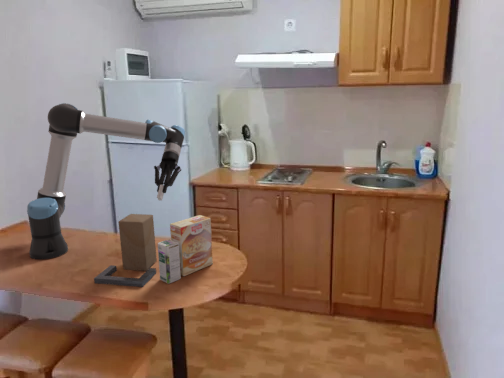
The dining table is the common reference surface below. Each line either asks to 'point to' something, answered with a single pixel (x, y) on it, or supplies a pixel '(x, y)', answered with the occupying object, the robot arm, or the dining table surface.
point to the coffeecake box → (193, 243)
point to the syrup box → (169, 261)
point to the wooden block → (137, 242)
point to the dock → (123, 278)
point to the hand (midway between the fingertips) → (159, 198)
